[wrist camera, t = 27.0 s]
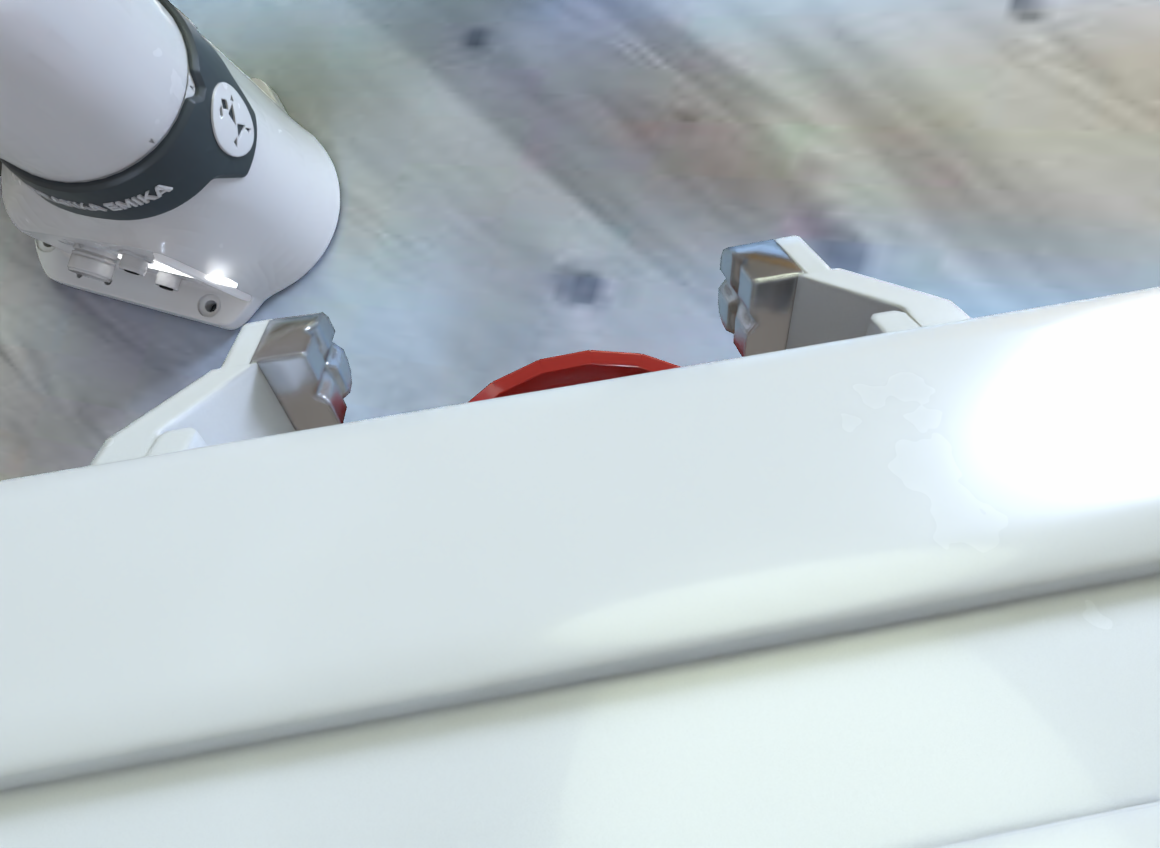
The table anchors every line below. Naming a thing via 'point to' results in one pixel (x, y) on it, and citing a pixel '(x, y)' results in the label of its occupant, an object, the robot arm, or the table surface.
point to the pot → (571, 372)
